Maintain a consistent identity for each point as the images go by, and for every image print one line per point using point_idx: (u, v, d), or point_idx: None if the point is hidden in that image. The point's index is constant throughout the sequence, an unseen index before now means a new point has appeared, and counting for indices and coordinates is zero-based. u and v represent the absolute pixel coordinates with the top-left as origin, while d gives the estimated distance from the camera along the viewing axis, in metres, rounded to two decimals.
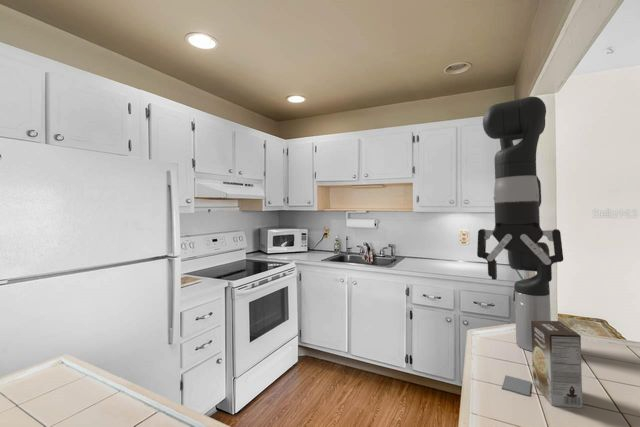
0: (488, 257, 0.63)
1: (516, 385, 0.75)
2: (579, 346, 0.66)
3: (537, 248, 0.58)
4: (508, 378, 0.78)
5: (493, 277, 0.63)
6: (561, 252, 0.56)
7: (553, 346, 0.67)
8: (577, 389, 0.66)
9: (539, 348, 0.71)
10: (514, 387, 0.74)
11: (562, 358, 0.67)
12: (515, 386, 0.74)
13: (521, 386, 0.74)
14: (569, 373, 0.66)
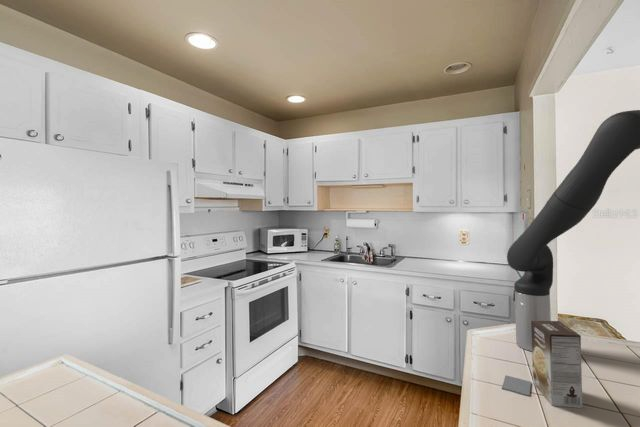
0: None
1: (516, 385, 0.75)
2: (579, 346, 0.66)
3: None
4: (508, 378, 0.78)
5: None
6: None
7: (553, 346, 0.67)
8: (577, 389, 0.66)
9: (539, 348, 0.71)
10: (514, 387, 0.74)
11: (562, 358, 0.67)
12: (515, 386, 0.74)
13: (521, 386, 0.74)
14: (569, 373, 0.66)
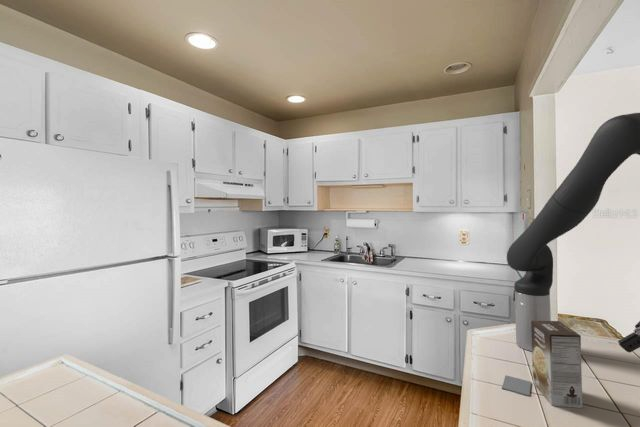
0: None
1: (516, 385, 0.75)
2: (579, 346, 0.66)
3: None
4: (508, 378, 0.78)
5: None
6: None
7: (553, 346, 0.67)
8: (577, 389, 0.66)
9: (539, 348, 0.71)
10: (514, 387, 0.74)
11: (562, 358, 0.67)
12: (515, 386, 0.74)
13: (521, 386, 0.74)
14: (569, 373, 0.66)
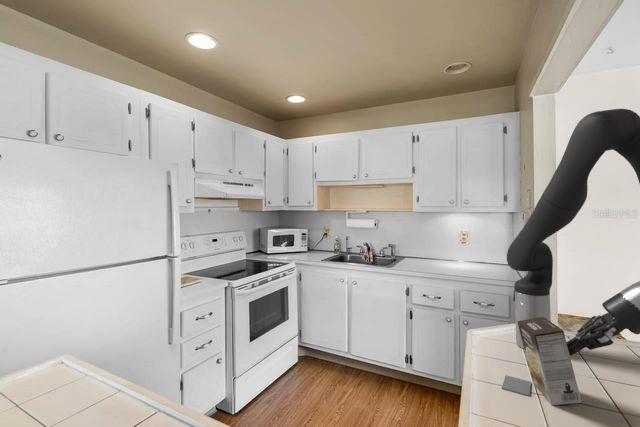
0: None
1: (516, 385, 0.75)
2: (564, 341, 0.67)
3: None
4: (508, 378, 0.78)
5: None
6: None
7: (539, 345, 0.68)
8: (572, 384, 0.66)
9: (529, 348, 0.72)
10: (514, 387, 0.74)
11: (551, 356, 0.67)
12: (515, 386, 0.74)
13: (521, 386, 0.74)
14: (561, 369, 0.67)
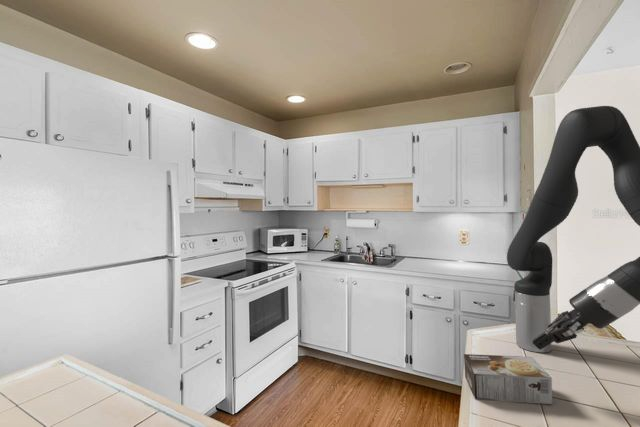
0: None
1: None
2: (485, 375, 0.70)
3: None
4: None
5: (541, 348, 0.72)
6: None
7: (487, 397, 0.70)
8: (531, 380, 0.68)
9: None
10: None
11: (499, 391, 0.69)
12: None
13: None
14: (514, 386, 0.69)
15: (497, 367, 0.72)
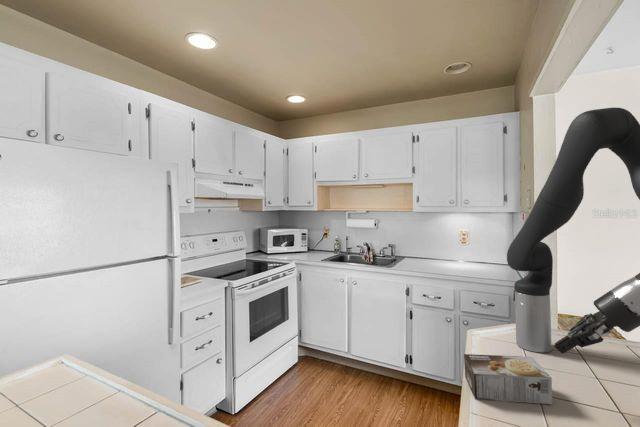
0: None
1: None
2: (485, 375, 0.70)
3: None
4: None
5: (564, 352, 0.69)
6: None
7: (487, 397, 0.70)
8: (531, 380, 0.68)
9: None
10: None
11: (499, 391, 0.69)
12: None
13: None
14: (514, 386, 0.69)
15: (497, 367, 0.72)
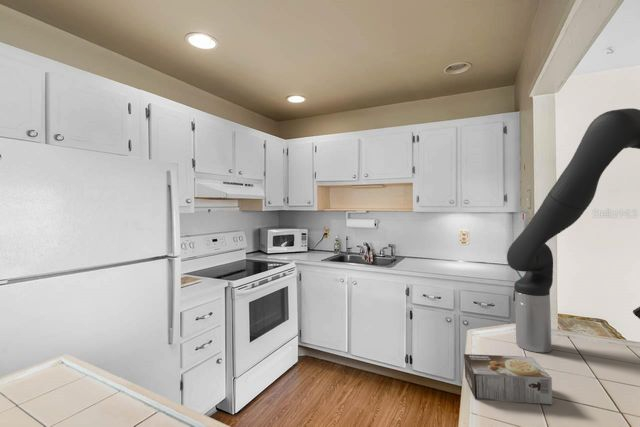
0: None
1: None
2: (485, 375, 0.70)
3: None
4: None
5: None
6: None
7: (487, 397, 0.70)
8: (531, 380, 0.68)
9: None
10: None
11: (499, 391, 0.69)
12: None
13: None
14: (514, 386, 0.69)
15: (497, 367, 0.72)
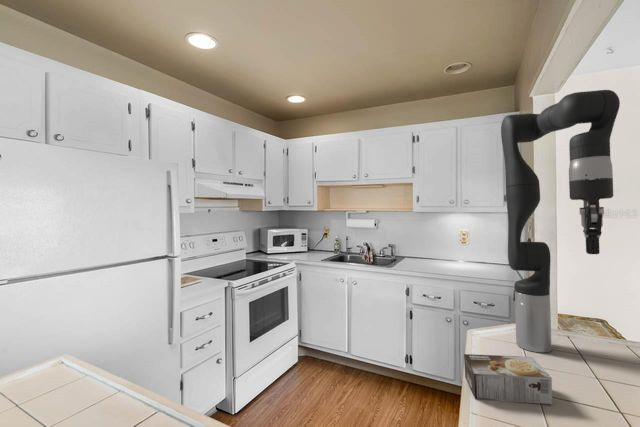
0: None
1: None
2: (485, 375, 0.70)
3: None
4: None
5: (599, 252, 0.69)
6: None
7: (487, 397, 0.70)
8: (531, 380, 0.68)
9: None
10: None
11: (499, 391, 0.69)
12: None
13: None
14: (514, 386, 0.69)
15: (497, 367, 0.72)
